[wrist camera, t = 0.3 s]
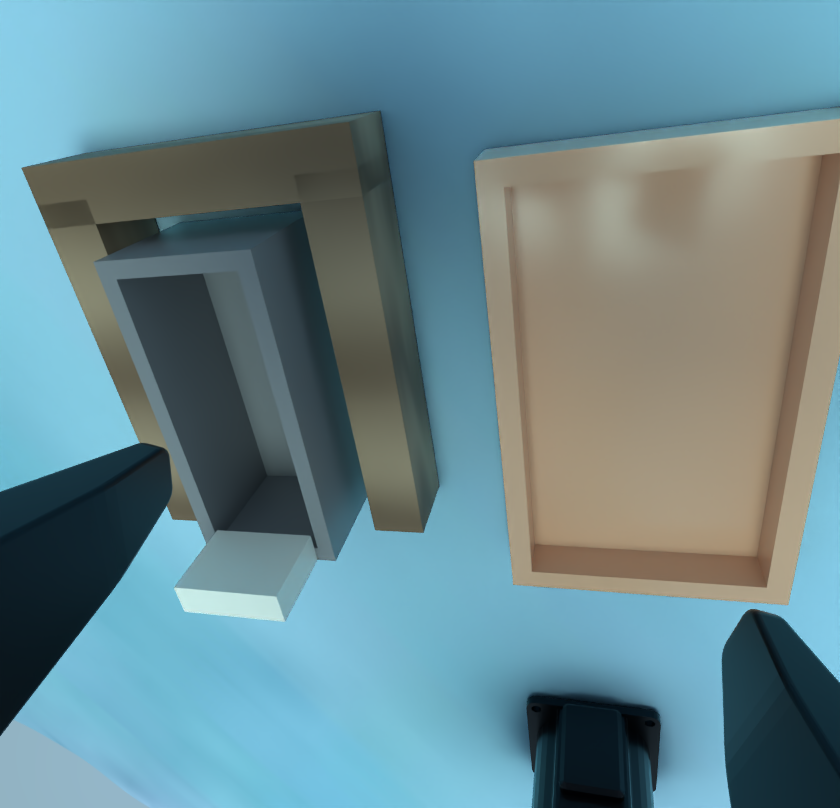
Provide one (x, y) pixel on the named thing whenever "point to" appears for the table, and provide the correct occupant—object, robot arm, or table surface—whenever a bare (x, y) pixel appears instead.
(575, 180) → the tray
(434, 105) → the table surface
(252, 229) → the caddy
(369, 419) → the dock
